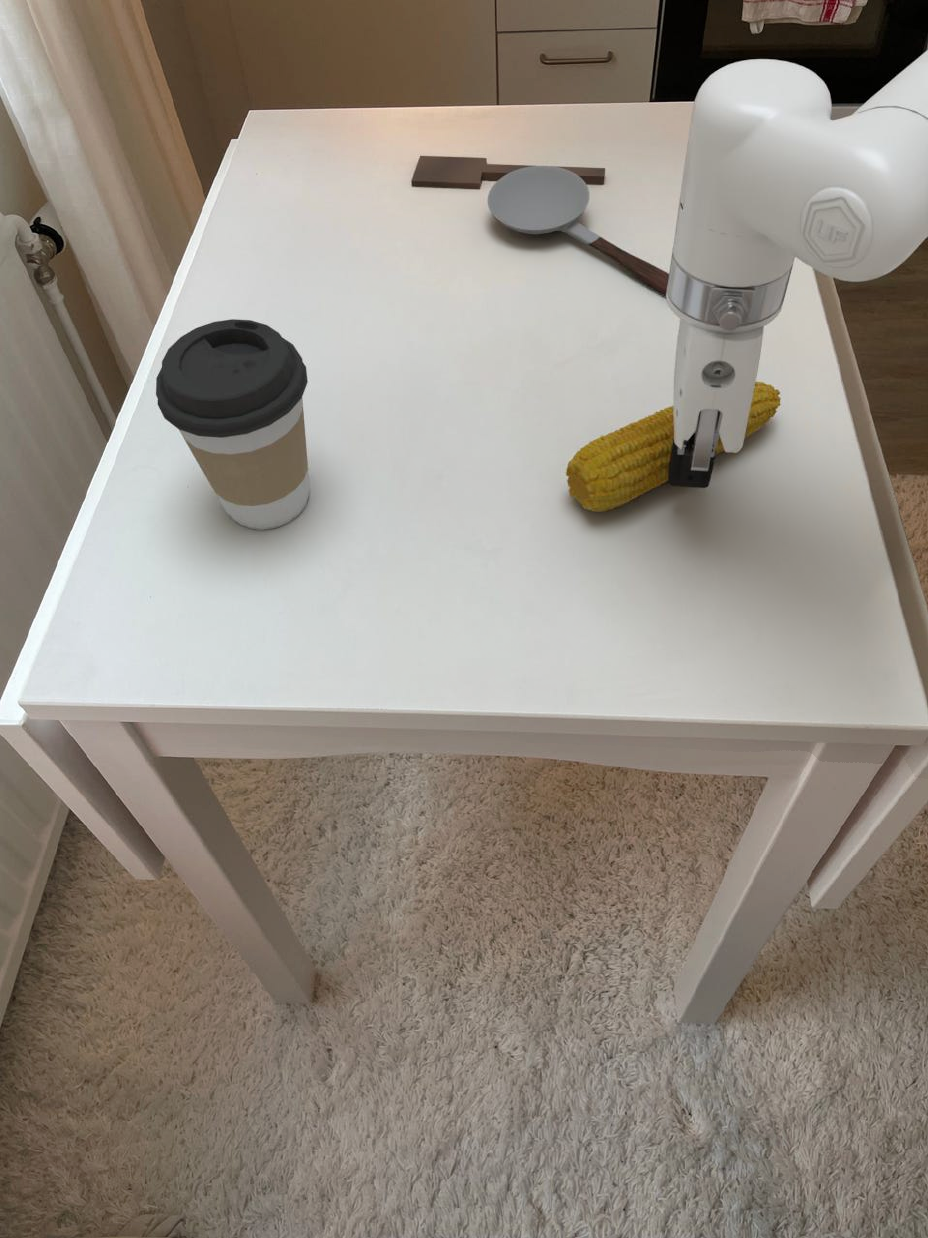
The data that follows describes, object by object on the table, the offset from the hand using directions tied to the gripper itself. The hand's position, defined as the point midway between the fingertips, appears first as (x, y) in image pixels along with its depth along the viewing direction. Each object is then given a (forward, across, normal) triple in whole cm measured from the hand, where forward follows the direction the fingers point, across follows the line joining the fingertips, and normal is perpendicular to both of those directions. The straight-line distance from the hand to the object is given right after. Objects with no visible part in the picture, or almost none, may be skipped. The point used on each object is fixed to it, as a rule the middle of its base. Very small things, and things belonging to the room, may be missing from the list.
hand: (687, 479), depth 76 cm
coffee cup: (+3, -3, +35) cm, 35 cm away
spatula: (+3, +50, +20) cm, 54 cm away
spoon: (+3, +34, +8) cm, 35 cm away
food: (+3, +5, +1) cm, 6 cm away
